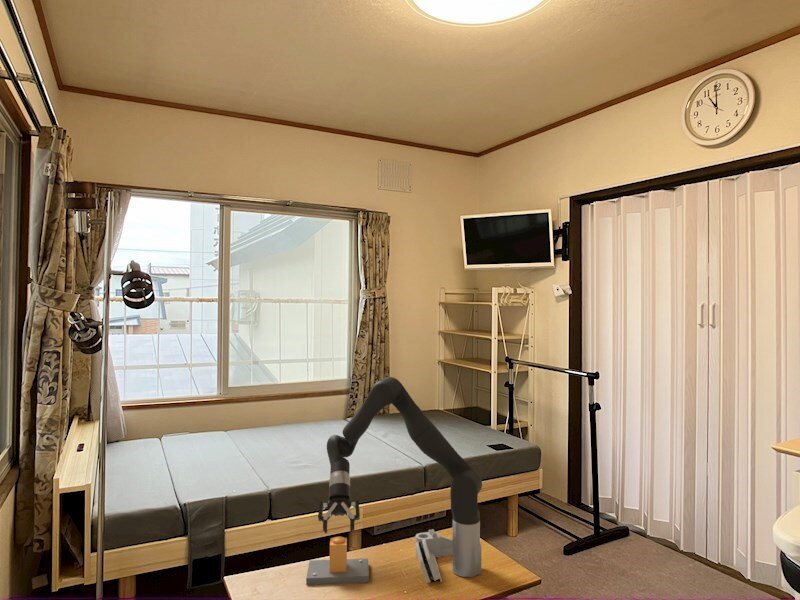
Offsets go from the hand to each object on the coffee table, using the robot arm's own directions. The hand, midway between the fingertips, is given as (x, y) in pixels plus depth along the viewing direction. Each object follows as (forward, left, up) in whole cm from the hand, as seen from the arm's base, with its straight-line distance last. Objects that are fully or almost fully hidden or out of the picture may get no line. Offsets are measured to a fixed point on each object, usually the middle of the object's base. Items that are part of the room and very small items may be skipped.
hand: (338, 532), depth 181 cm
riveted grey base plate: (0, +3, -13) cm, 13 cm away
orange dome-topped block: (0, +3, -11) cm, 11 cm away
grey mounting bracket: (-36, -10, -13) cm, 40 cm away
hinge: (-30, +3, -13) cm, 33 cm away
